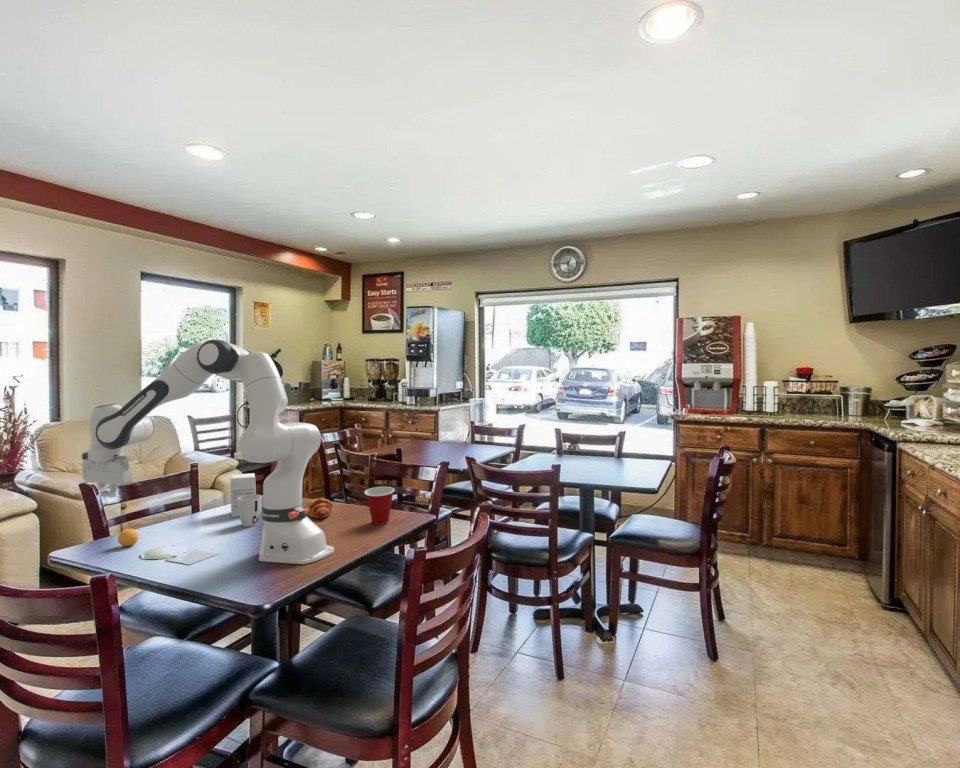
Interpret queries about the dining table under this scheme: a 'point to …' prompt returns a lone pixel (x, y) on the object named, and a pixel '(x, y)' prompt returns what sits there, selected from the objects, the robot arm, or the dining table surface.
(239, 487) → the supplement box
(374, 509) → the plastic cup
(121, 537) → the ball
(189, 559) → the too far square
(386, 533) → the dining table surface
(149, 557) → the disc
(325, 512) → the croissant
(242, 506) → the cup
